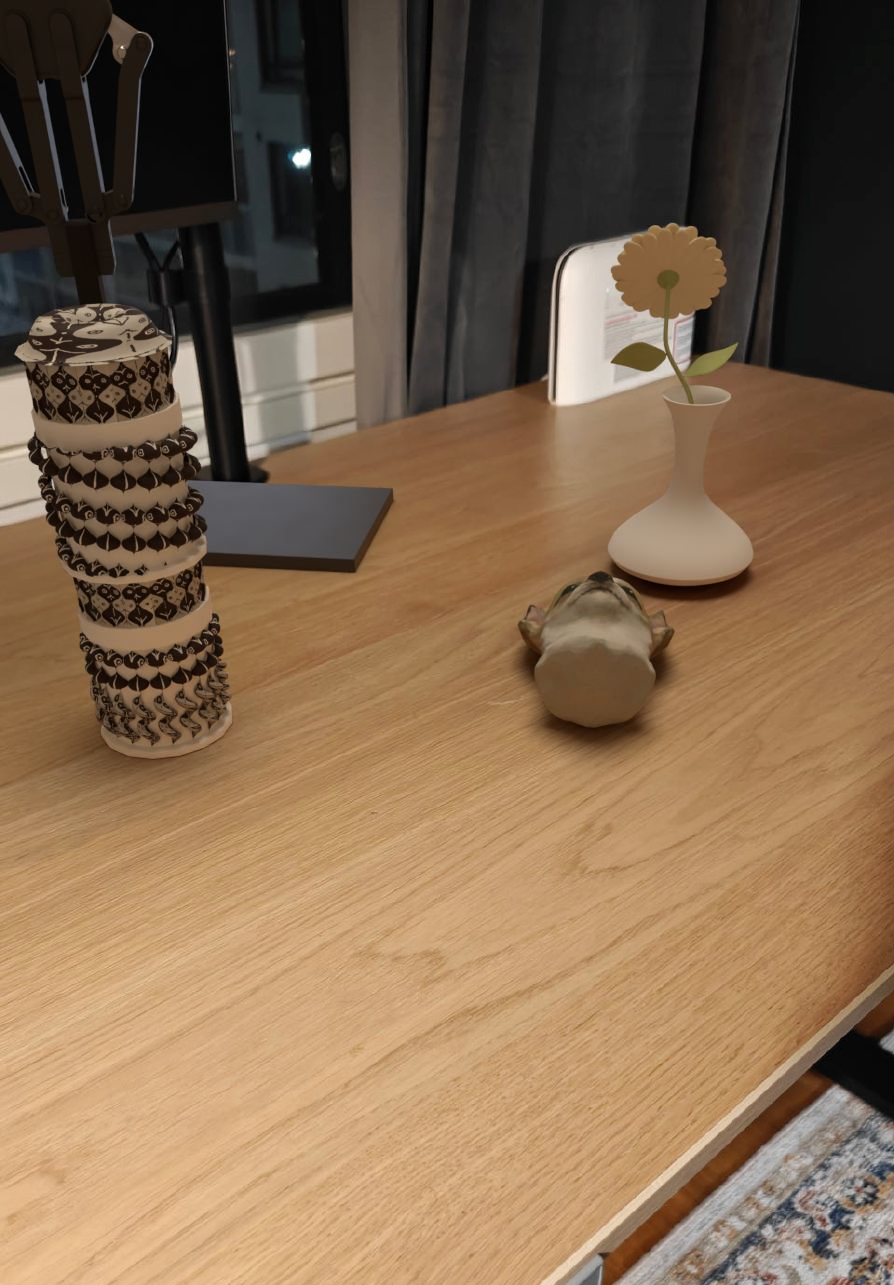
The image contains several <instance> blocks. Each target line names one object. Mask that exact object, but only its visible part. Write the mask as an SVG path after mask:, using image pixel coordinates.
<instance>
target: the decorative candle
mask: <svg viewBox="0 0 894 1285" xmlns="http://www.w3.org/2000/svg"><path fill="white" fill-rule="evenodd" d="M171 345H173V336H172V335H170V334H169V333H167V332H165V331H163V330H161V329H158V327H157V326H156V324H155V323H154V322H153V320H152V319H151V318H150V317H149V315H147V314H146V313H145V312H144V311H142V310H140V309H138V308H136V307H134V306H131V305H127V304H120V303H107V304H88V305H80V304H79V305H72V306H66V307H62V308H58V309H53V310H50V311H48V312H46V313H44V314H42V315H40V316H38V317H37V318H36V319H35V320H34V322H33V324H32V326H31V328H30V331H29V334H28V337H27V340H26V342H24V343H22V344H19V345H18V346H17V348H16V350H15V352H14V355H15V356H16V357H17V358H19V359H20V360H21V361H23V366H24V370H25V375H26V380H27V384H28V388H29V392H30V396H31V400H32V409H31V411H30V414H31V417H32V422H33V427H34V432H33V436H32V437H31V438H29V440H28V441H27V444H26V447H27V450H28V451H29V452H28V455H27V456H28V461H29V462H30V463H32V464H33V465H35V466H37V467H38V471H39V472H40V473H42V474H41V475H40V476H39V477H38V479H37V485H38V488H40V496H41V498H42V499H43V500H44V501H45V502H46V503H45V505H44V510H45V511H46V516H45V520H46V523H48V525H49V526H51V527H54V531H55V533H56V534H57V536H56V537H55V539H54V544H55V546H56V547H57V552H56V553H57V556H58V558H59V559H60V560H59V561H60V564H61V567H62V568H63V569H64V570H65V572H66V573H67V574H68V575H69V576H70V577H72V580H73V583H74V588H75V591H76V592H75V593H76V596H77V601H78V604H77V610H76V612H77V616H78V620H79V626H80V629H81V631H79V634H78V636H79V640H80V641H79V643H78V644H79V645H78V646H79V648H80V649H81V651H82V652H83V653H85V656H84V661H85V665H84V670H85V672H86V673H87V674H88V675H91V678H90V682H89V685H90V688H89V694H90V697H91V699H92V701H93V702H94V703H95V704H94V705H95V711H94V712H95V714H94V715H95V718H96V720H97V721H98V723H99V724H100V725H101V728H100V735H101V737H102V739H103V740H104V742H105V744H106V745H107V746H108V747H109V749H111V750H114V751H116V752H118V753H121V754H122V755H125V756H127V757H133V758H142V759H151V760H155V759H163V758H164V759H165V758H171V757H180V756H183V755H186V754H189V753H193V752H196V751H198V750H202V749H205V748H207V747H208V746H210V745H211V744H213V743H214V742H216V741H217V740H219V739H220V738H222V737H223V736H224V735H226V732H227V731H228V729H229V728H230V726H231V725H232V724H233V723H234V722H233V706H232V703H230V700H231V699H232V695H231V694H230V693H229V692H227V691H228V690H229V689H230V687H231V686H230V683H229V682H228V681H227V680H228V678H229V673H228V672H227V671H225V669H226V668H227V666H228V664H227V661H225V660H223V659H221V658H220V657H221V656H223V655H224V652H225V651H224V650H225V648H224V647H223V645H222V644H223V638H222V637H221V635H219V633H220V632H221V625H220V623H219V622H220V616H219V614H218V613H216V612H214V611H213V605H212V600H211V592H210V587H209V586H207V584H206V582H205V575H204V565H202V561H201V558H202V557H203V556H204V555H205V554H206V553H207V546H206V537H205V535H204V534H203V533H205V532H206V531H207V524H206V521H205V519H204V518H203V517H202V516H200V515H198V514H195V512H197V511H198V510H199V509H200V507H201V506H202V505H203V503H204V497H203V496H202V495H201V494H200V492H199V491H198V490H196V489H194V488H192V487H189V486H188V484H187V481H188V480H192V479H193V478H194V477H195V476H196V475H197V474H198V473H200V472H201V471H202V463H201V462H200V460H199V458H197V456H195V455H193V454H190V453H189V451H191V450H192V449H193V448H194V446H195V445H196V444H197V442H198V439H199V437H198V434H197V433H196V431H193V430H192V429H191V428H190V427H187V426H186V424H183V412H182V405H181V398H180V394H179V392H177V391H176V390H175V387H174V378H173V369H172V368H173V367H172V363H171V361H170V356H169V355H170V354H169V347H170V346H171ZM42 449H45V452H46V457H44V455H43V453H42Z"/></svg>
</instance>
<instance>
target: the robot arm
mask: <svg viewBox="0 0 894 1285" xmlns="http://www.w3.org/2000/svg"><path fill="white" fill-rule="evenodd" d="M108 34H109V36H110V37H111V40H112V56H113V58H114V60H115V61H116V62H118V63H119V64H120V65H121V66H120V70H119V74H118V86H117V102H116V103H117V104H116V122H115V139H114V140H115V142H114V159H113V178H112V179H113V180H112V189H110V190H108V191H106V190H105V185H104V177H103V171H102V166H101V161H100V155H99V148H98V144H97V137H96V132H95V126H94V121H93V120H94V119H93V115H92V108H91V103H90V102H91V101H90V95H89V87H88V81H87V80H88V79H87V75H88V74H89V73H90V72H91V70H92V68H93V66H94V64H95V61H96V60H97V58H98V55H99V52H100V51H101V49H102V46H103V44H104V42H105V39H106V37H107V35H108ZM153 48H154V40H153V39H152V37H151V36H150V34H148V32H145V31H139V30H138V29H136V28H134V27H133V26H132V25H130V24H129V23H128V22H126V21H124V20H122V19H121V18H120V17H118V16H117V15H115V14H114V7H113V4H112V1H111V0H0V64H1V65H2V66H3V68H5V70H6V71H7V72H8V73H9V74H10V75H11V76H12V77H14V78H15V81H16V82H15V83H16V86H17V92H18V96H19V99H20V101H21V106H22V111H23V116H24V120H25V126H26V131H27V137H28V141H29V146H30V151H31V156H32V161H33V162H32V163H33V166H34V172H35V176H36V181H37V187H38V191H39V193H38V192H35V191H34V189H33V187H32V186H33V185H32V184H31V181H30V179H29V177H28V174H27V172H26V170H25V167H24V165H23V163H22V161H21V158H20V156H19V153H18V150H17V149H16V147H15V144H14V141H13V140H12V137H11V135H10V133H9V130H8V128H7V125H6V123H5V121H4V119H3V115H2V114H1V113H0V181H1V183H2V186H3V187H4V190H5V192H6V194H7V196H8V199H9V201H10V203H11V205H12V208H13V209H14V211H15V212H16V213H17V214H19V215H21V216H29V217H32V218H36V219H38V220H40V221H41V222H43V223H44V225H45V226H46V229H47V231H48V237H49V242H50V248H51V251H52V252H51V253H52V256H53V262H54V268H55V271H56V273H57V274H58V276H59V277H60V278H61V279H62V278H74V282H75V287H76V292H77V299H78V302H79V305H88V304H108V302H107V296H106V290H105V284H104V279H103V276H114V275H115V272H116V267H117V258H116V252H115V246H114V240H113V234H112V229H111V219H112V217H113V216H115V215H117V214H120V213H121V212H123V211H127V210H129V209H130V208H131V207H132V204H133V201H134V197H135V183H136V182H135V181H136V165H137V151H138V150H137V149H138V132H139V120H140V116H139V115H140V101H141V85H142V76H143V73H144V70H145V69H146V67H147V64H148V61H149V59H150V57H151V54H152V51H153ZM48 79H53V80H57V81H60V85H61V91H62V95H63V99H64V102H65V108H66V113H67V118H68V119H67V120H68V124H69V128H70V133H71V141H72V145H73V152H74V156H75V162H76V167H77V173H78V180H79V183H80V184H79V185H80V189H81V194H82V201H83V205H84V211H85V214H84V217H85V218H73V219H72V218H71V219H69V217H68V213H69V206H67V200H66V196H65V190H64V185H63V179H62V174H61V168H60V163H59V157H58V153H57V152H58V151H57V147H56V142H55V136H54V131H53V130H54V129H53V126H52V121H51V115H50V109H49V103H48V97H47V89H46V83H45V80H48Z"/></svg>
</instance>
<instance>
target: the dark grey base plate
mask: <svg viewBox="0 0 894 1285" xmlns="http://www.w3.org/2000/svg"><path fill="white" fill-rule="evenodd" d="M187 484H188V486H189V487H192V488H194V489H196V490H198V491H199V492H200V494H201V495H202V496H203V497H204V503H203V505H202V506H201V507H200V509H199V510H198V511H197V512H195V514H198V515H200V516H202V517H203V518H204V519H205V521H206V524H207V531H206V532H205V533H203V534H204V535H205V537H206V546H207V553H206V554H205V555H204V556H203V557H202V558H201V561H202V565H203V566H209V567H210V566H212V567H230V568H231V567H233V568H251V569H253V568H254V569H269V570H270V569H272V570H273V569H274V570H292V571H293V570H294V571H310V572H311V571H312V572H334V573H351V574H352V573H356V572H357V570H358V568H359V566H360V564H361V562H362V561H363V558H364V557H365V555H366V553H367V551H368V549H369V547H370V546H371V544H372V542H373V540H374V538H375V536H376V534H377V532H378V531H379V528H380V527H381V525H382V523H383V521H384V519H385V517H386V516H387V513H388V511H389V510H390V508H391V506H392V504H393V502H394V501H395V500H394V488H393V487H374V486H372V487H370V486H349V485H348V486H345V485H319V484H317V485H316V484H295V483H294V484H293V483H268V482H267V483H266V482H240V481H215V480H214V481H213V480H212V481H211V480H193V479H189V480H188V481H187Z"/></svg>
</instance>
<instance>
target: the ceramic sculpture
mask: <svg viewBox="0 0 894 1285" xmlns="http://www.w3.org/2000/svg"><path fill="white" fill-rule="evenodd" d="M517 627H518V631H519V633H520V635H521V638H522V640H523V641H524V643H525V644H526V646H528V647H529V648H530V649H532V650H533V651H534V652H536V653H537V654H538V655H540V656H541V657H539V659H538V662H537V663H536V665H535V666H534V670H533V671H534V674H533V675H534V681H535V685H536V688H537V691H538V694H539V696H540V698H541V700H542V702H543V704H544V705H545V706H546V708H547V710H548V711H549V712H550V713H551V714H552V715H553V716H555V717H556V718H558V719H561V720H562V721H566V722H572V723H574V724H576V725H579V726H583V727H585V728H593V729H596V728H599V727H604V726H609V725H613V724H621V723H624V722H627V721H628V720H631V719H632V718H634V717H635V715H636V714H638V713H639V711H640V710H641V709H642V708H643V707H644V706H645V704H646V702H647V701H648V699H649V697H650V695H651V693H652V690H653V689H654V686H655V683H656V678H657V675H656V670H655V669H654V666H653V663H652V662H651V661H650V660H651V659H653V658H655V657H656V656H658V655H660V653H663V651H665V649H666V648H668V647H669V644H670V643H671V642H672V639H673V637H674V634H675V629H674V627H672V626H670V625H668V623H667V620H666V615H665V612H664V610H663V609H661V610H658V611H656V612H655V613H652V614H649V615H648V613H647V610H646V608H645V605H644V601H643V599H642V596H641V595H640V593H639V592H638V591H637V590H636V588H635V587H633V586H632V585H631V584H630V583H629V582H627V581H625V580H623V579H621V578H618V577H613V576H611V574H609V573H608V572H605V571H602V570H599V571H595V572H592V573H591V574H590V575H588V576H579V577H576V578H573V579H572V580H570V581H568V582H567V583H565V584H563V585H562V586H561V587H560V588H559V589H558V590H557V592H556V593H555V595H554V597H553V599H552V601H551V603H550V605H549V607H548V609H547V610H543V609H541V608H538V607H536V605H534V604H532V603H531V604H529V605H528V608H527V611H526V614H525V617H523V619H520V620H519V621H518V623H517Z"/></svg>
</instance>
